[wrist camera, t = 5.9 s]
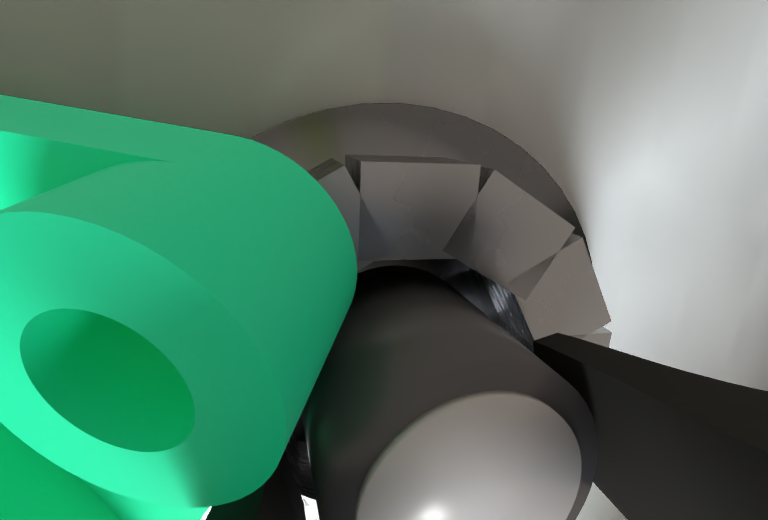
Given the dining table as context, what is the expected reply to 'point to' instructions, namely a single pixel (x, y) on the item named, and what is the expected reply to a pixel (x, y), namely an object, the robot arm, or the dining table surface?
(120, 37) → the dining table surface
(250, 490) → the camera mount
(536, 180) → the grey knurled ring
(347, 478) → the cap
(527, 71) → the dining table surface
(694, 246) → the dining table surface
